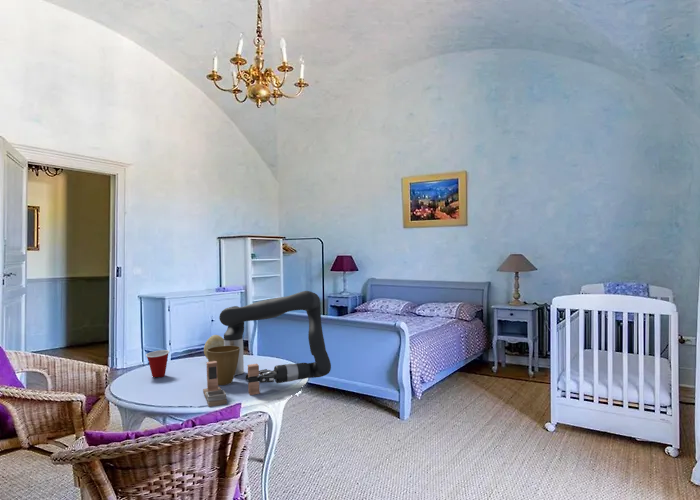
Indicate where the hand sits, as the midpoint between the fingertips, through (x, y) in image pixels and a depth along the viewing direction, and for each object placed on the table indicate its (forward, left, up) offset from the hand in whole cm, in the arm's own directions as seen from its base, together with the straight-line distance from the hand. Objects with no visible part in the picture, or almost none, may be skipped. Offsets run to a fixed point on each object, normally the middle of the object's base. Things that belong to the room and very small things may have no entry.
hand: (247, 378), depth 196 cm
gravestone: (-2, -13, -7) cm, 15 cm away
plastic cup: (-52, -34, -7) cm, 63 cm away
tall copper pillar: (0, +3, -7) cm, 7 cm away
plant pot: (-23, -6, -7) cm, 25 cm away
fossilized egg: (-69, -4, -7) cm, 69 cm away
